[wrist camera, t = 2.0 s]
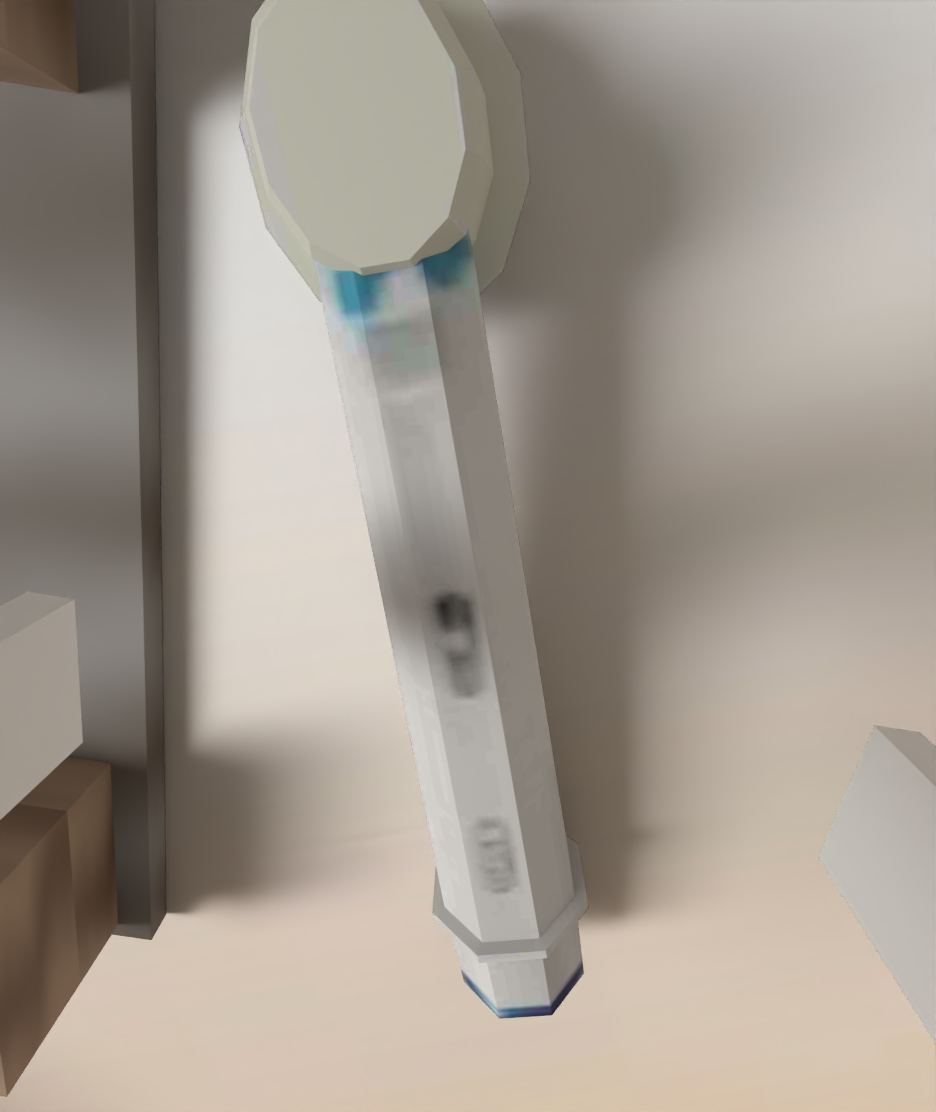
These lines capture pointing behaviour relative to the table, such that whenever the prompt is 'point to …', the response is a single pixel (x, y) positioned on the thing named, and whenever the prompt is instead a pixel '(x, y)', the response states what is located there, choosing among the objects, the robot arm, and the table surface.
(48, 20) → the cradle
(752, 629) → the table surface
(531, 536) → the table surface
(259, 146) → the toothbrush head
